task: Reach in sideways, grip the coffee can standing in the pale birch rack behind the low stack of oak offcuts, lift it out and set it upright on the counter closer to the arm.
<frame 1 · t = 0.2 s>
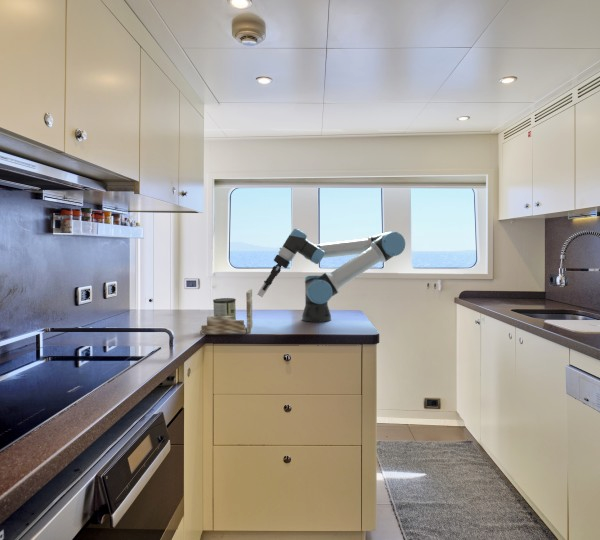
hand: (260, 294, 201), 15 cm above the worktop, tool tilted 35°, fingers open, 13 cm apart
rack: (226, 330, 190), on the worktop
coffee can: (225, 329, 193), on the worktop
offcut stack: (223, 333, 184), resting on rack
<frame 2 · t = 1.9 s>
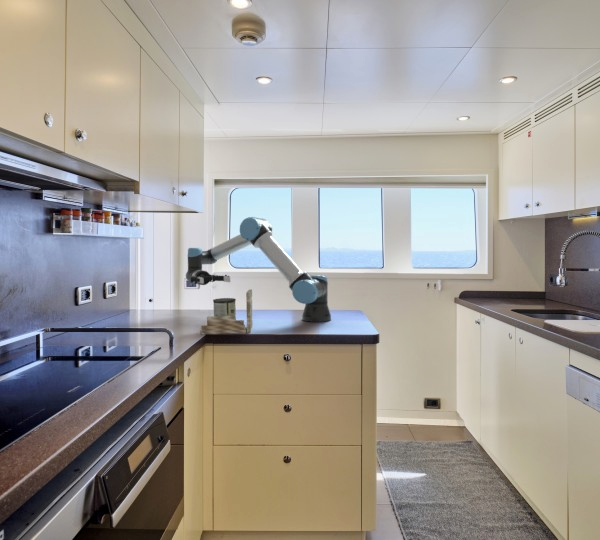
hand: (216, 280, 200), 22 cm above the worktop, tool horizontal, fingers open, 13 cm apart
nothing on the worktop moved.
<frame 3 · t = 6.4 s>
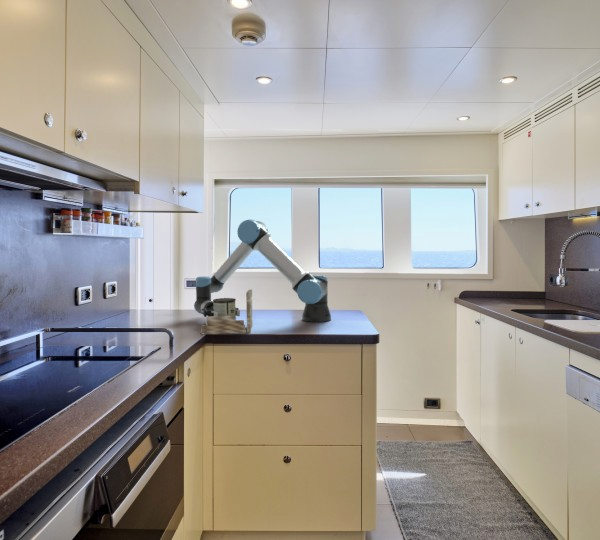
hand: (228, 314, 189), 8 cm above the worktop, tool horizontal, fingers closed on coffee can, 10 cm apart
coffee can: (224, 329, 193), on the worktop, touching gripper
when the fingers open (9 cm above the worktop, at t = 12.9 s): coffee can drops 1 cm, on the worktop.
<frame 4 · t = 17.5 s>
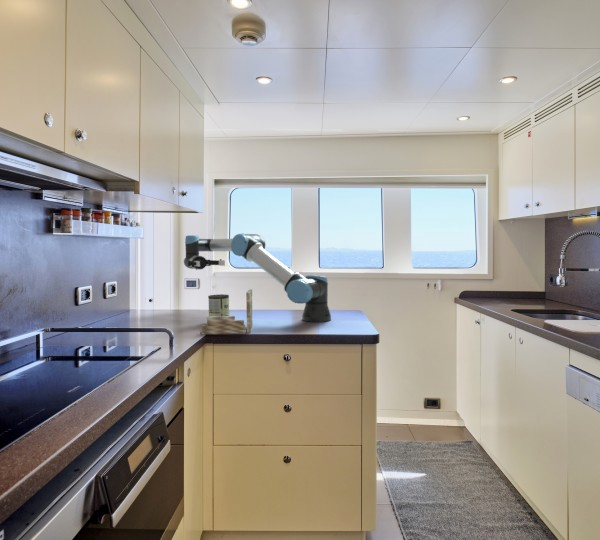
hand: (211, 263, 215), 30 cm above the worktop, tool horizontal, fingers open, 13 cm apart
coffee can: (219, 323, 209), on the worktop
at the end: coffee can inside the target area (0.1 cm from its centre), on the worktop; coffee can tilted 0°; the gripper is holding nothing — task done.
